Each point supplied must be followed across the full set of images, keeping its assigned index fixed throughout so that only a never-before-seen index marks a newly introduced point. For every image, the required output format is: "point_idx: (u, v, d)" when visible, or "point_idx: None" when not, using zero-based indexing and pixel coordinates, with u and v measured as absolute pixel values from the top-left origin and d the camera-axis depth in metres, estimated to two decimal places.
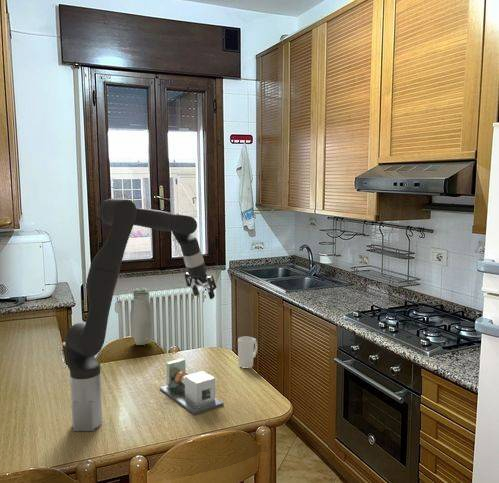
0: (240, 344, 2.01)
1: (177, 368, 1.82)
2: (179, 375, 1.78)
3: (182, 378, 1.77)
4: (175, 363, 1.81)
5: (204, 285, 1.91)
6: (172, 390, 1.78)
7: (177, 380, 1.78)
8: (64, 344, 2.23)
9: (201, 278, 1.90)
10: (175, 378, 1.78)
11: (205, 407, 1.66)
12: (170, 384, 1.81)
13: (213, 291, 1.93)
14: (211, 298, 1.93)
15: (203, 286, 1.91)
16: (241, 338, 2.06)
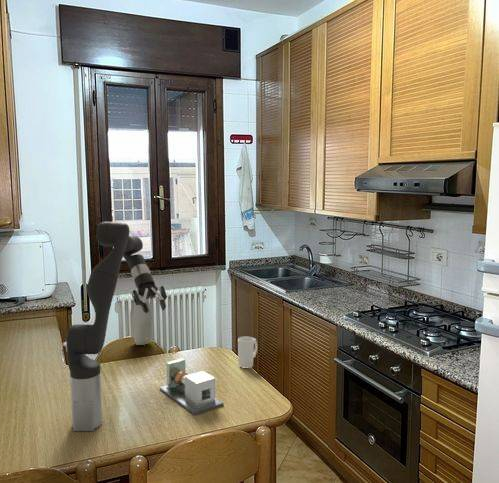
0: (240, 344, 2.01)
1: (177, 368, 1.82)
2: (179, 375, 1.78)
3: (182, 378, 1.77)
4: (175, 363, 1.81)
5: (158, 293, 1.97)
6: (172, 390, 1.78)
7: (177, 380, 1.78)
8: (64, 344, 2.23)
9: (154, 288, 1.98)
10: (175, 378, 1.78)
11: (205, 407, 1.66)
12: (170, 384, 1.81)
13: None
14: (165, 307, 1.95)
15: (157, 293, 1.96)
16: (241, 338, 2.06)
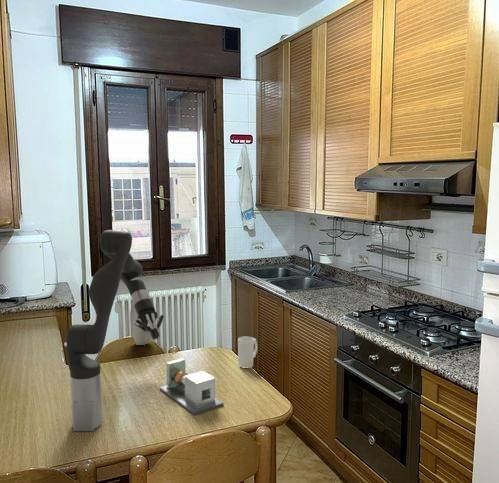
0: (240, 344, 2.01)
1: (177, 368, 1.82)
2: (179, 375, 1.78)
3: (182, 378, 1.77)
4: (175, 363, 1.81)
5: (155, 320, 1.97)
6: (172, 390, 1.78)
7: (177, 380, 1.78)
8: (65, 344, 2.22)
9: (155, 315, 1.99)
10: (175, 378, 1.78)
11: (205, 407, 1.66)
12: (170, 384, 1.81)
13: None
14: (158, 336, 1.94)
15: (153, 321, 1.96)
16: (241, 338, 2.06)
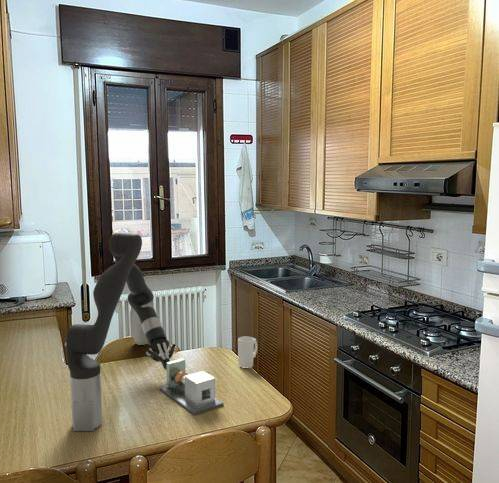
0: (240, 344, 2.01)
1: (177, 368, 1.82)
2: (179, 375, 1.78)
3: (182, 378, 1.77)
4: (175, 363, 1.81)
5: (167, 350, 1.91)
6: (172, 390, 1.78)
7: (177, 380, 1.78)
8: None
9: (166, 344, 1.93)
10: (175, 378, 1.78)
11: (205, 407, 1.66)
12: (170, 384, 1.81)
13: None
14: None
15: (165, 350, 1.90)
16: (241, 338, 2.06)
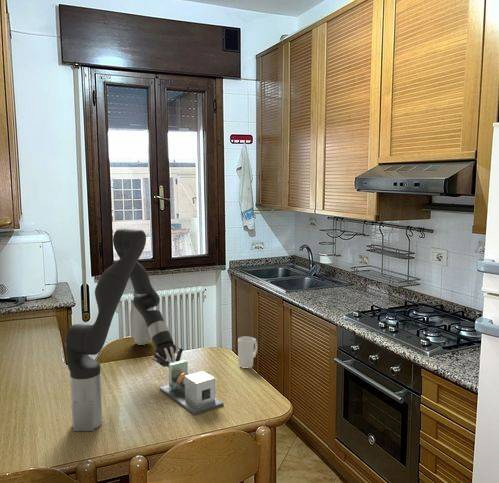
0: (240, 344, 2.01)
1: (179, 370, 1.80)
2: (181, 376, 1.77)
3: (184, 379, 1.76)
4: (177, 364, 1.80)
5: (174, 355, 1.86)
6: (172, 390, 1.78)
7: (179, 381, 1.77)
8: None
9: (173, 348, 1.88)
10: (177, 379, 1.77)
11: (205, 407, 1.66)
12: (172, 385, 1.79)
13: None
14: None
15: (172, 355, 1.85)
16: (241, 338, 2.06)
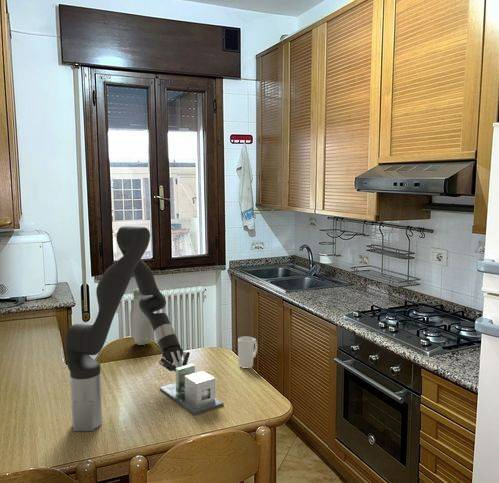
0: (240, 344, 2.01)
1: (186, 374, 1.76)
2: None
3: None
4: (184, 369, 1.76)
5: (181, 359, 1.82)
6: (172, 390, 1.78)
7: None
8: None
9: (180, 352, 1.84)
10: (184, 384, 1.73)
11: (205, 407, 1.66)
12: (179, 390, 1.75)
13: None
14: None
15: (179, 359, 1.81)
16: (241, 338, 2.06)
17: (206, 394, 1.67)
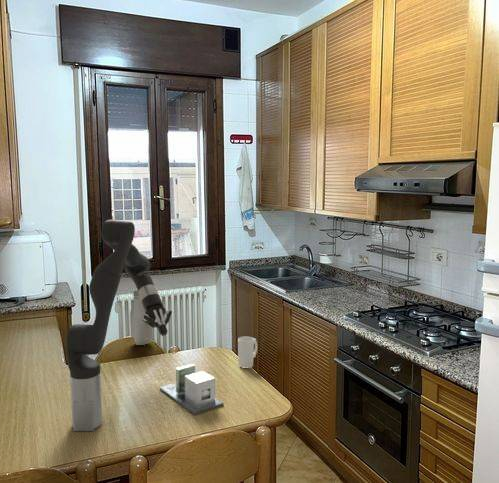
0: (240, 344, 2.01)
1: (186, 374, 1.76)
2: None
3: None
4: (185, 369, 1.75)
5: (163, 316, 1.92)
6: (172, 390, 1.78)
7: None
8: None
9: (163, 311, 1.94)
10: None
11: (205, 407, 1.66)
12: (179, 391, 1.75)
13: None
14: (166, 332, 1.88)
15: (161, 316, 1.91)
16: (241, 338, 2.06)
17: (206, 394, 1.67)
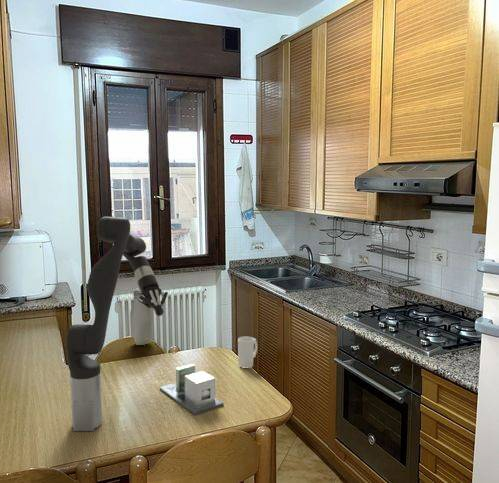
0: (240, 344, 2.01)
1: (186, 374, 1.76)
2: None
3: None
4: (185, 369, 1.75)
5: (159, 297, 1.93)
6: (172, 390, 1.78)
7: None
8: None
9: (159, 292, 1.95)
10: None
11: (205, 407, 1.66)
12: (179, 391, 1.75)
13: None
14: None
15: (157, 297, 1.92)
16: (241, 338, 2.06)
17: (206, 394, 1.67)
